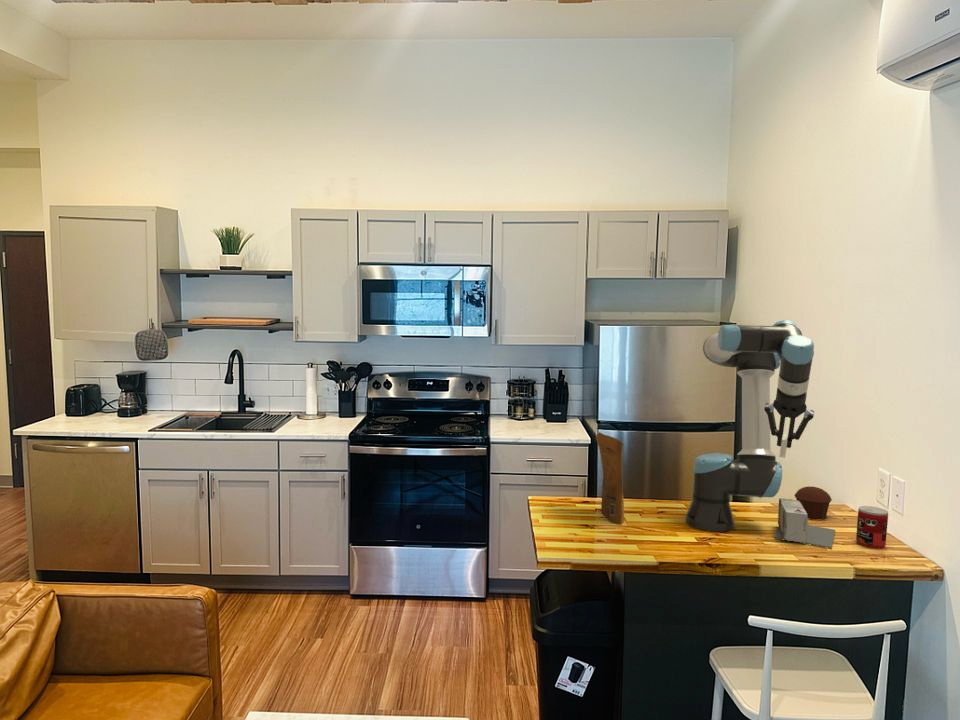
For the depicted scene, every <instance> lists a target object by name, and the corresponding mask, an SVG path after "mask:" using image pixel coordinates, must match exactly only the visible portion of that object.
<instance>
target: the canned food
mask: <svg viewBox="0 0 960 720" xmlns="http://www.w3.org/2000/svg"><path fill="white" fill-rule="evenodd" d="M888 520H889V511H888V510H886V509H884V508H882V507H877V506H871V505H861V506H858V509H857V520H856V521H857V522H856V534H855V540H856V543H857V544H859V546H862V547H865V548H870V549H884V548H885V547H886V544H887V535H888V534H887V533H888V525H889V524H888Z"/></svg>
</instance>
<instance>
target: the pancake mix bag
mask: <svg viewBox="0 0 960 720" xmlns="http://www.w3.org/2000/svg"><path fill="white" fill-rule="evenodd" d="M595 436H596V437H595V439H596V443H597V445H598V449H599V454H600V462H601V469H602V485H601V487H602V488H601V505H600V507H601V510H600V514H602V515H603V516H604V517H605V519H607V520H608V521H609V522H610V523H611V524H616V525H623V524H622V523H624V520H625V507H624V505H625V504H624V479H623V475H624V474H623V473H624V469H623V468H624V466H623V456H624V455H623V451H624V450H623V449H624V443H623V442H622V441H621V440H620V439H618V438H616V437H613V436H610V435H606V434H604V433H601V432H599V431H598V432H597V433H596V435H595Z"/></svg>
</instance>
